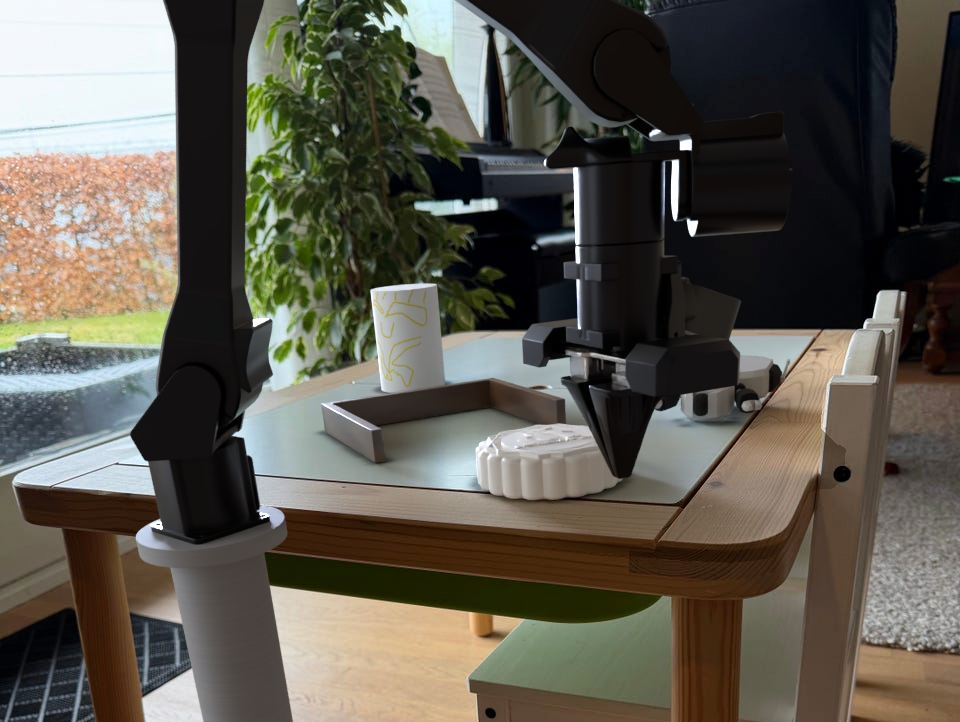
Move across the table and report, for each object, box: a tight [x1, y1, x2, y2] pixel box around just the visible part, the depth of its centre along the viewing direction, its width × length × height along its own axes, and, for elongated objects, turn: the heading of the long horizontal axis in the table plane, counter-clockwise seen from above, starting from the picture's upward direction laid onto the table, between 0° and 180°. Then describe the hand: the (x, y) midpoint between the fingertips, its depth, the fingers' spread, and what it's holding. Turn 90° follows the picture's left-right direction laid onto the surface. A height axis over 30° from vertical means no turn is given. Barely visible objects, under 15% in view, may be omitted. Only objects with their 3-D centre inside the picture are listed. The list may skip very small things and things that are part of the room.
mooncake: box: [475, 423, 623, 501], centre depth 80 cm, size 12×12×4 cm
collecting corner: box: [320, 377, 567, 464], centre depth 100 cm, size 16×20×3 cm
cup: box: [370, 283, 446, 394], centre depth 122 cm, size 8×8×12 cm
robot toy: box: [654, 354, 791, 423], centre depth 99 cm, size 12×4×15 cm
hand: (622, 477), depth 70 cm, fingers closed
